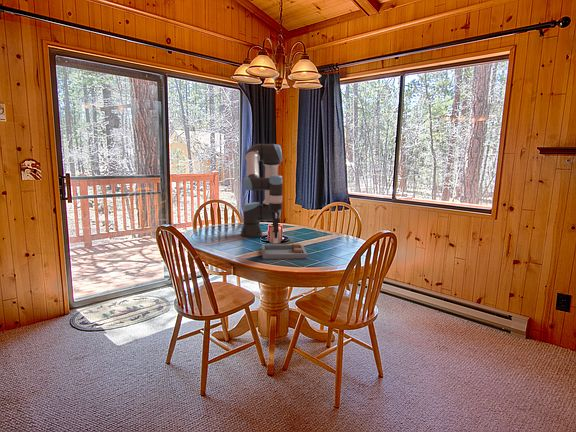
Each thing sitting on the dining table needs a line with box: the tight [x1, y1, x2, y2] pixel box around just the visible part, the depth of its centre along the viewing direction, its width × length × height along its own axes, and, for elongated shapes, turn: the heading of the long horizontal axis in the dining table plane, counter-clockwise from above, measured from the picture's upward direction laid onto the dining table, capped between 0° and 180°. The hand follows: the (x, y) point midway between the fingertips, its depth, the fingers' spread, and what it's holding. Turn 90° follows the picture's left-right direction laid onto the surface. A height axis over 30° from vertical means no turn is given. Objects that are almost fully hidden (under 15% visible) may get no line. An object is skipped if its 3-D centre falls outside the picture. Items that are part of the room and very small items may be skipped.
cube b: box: [294, 248, 302, 253], centre depth 210 cm, size 4×4×4 cm
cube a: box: [291, 243, 301, 252], centre depth 220 cm, size 4×4×4 cm
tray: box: [261, 243, 308, 260], centre depth 214 cm, size 21×25×3 cm
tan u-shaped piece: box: [269, 225, 282, 245], centre depth 212 cm, size 6×6×9 cm
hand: (275, 241), depth 212 cm, fingers closed on tan u-shaped piece, 6 cm apart
